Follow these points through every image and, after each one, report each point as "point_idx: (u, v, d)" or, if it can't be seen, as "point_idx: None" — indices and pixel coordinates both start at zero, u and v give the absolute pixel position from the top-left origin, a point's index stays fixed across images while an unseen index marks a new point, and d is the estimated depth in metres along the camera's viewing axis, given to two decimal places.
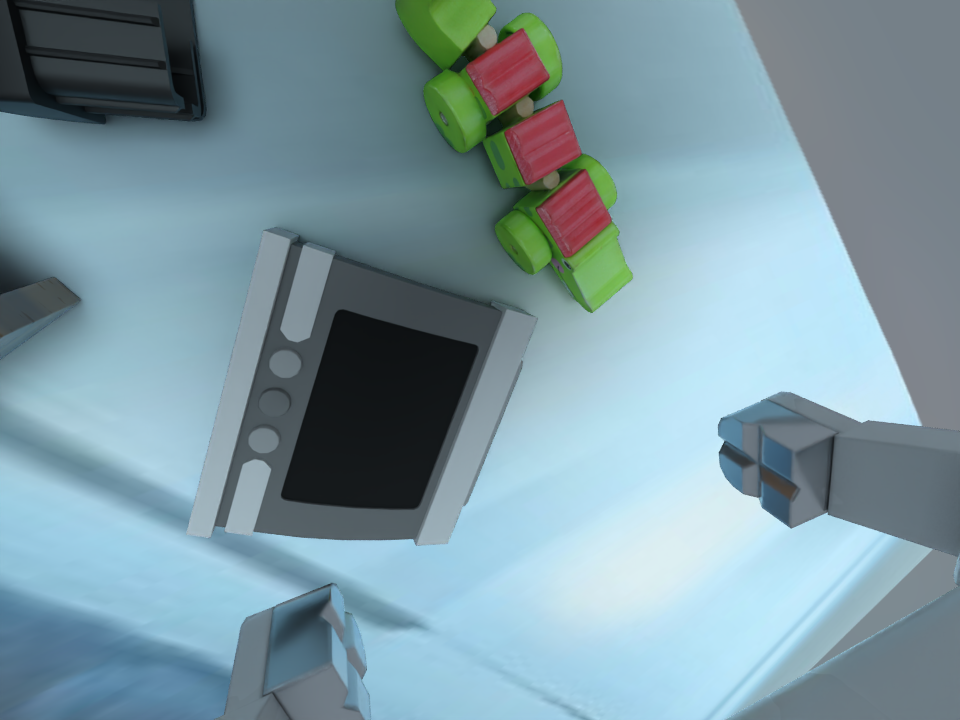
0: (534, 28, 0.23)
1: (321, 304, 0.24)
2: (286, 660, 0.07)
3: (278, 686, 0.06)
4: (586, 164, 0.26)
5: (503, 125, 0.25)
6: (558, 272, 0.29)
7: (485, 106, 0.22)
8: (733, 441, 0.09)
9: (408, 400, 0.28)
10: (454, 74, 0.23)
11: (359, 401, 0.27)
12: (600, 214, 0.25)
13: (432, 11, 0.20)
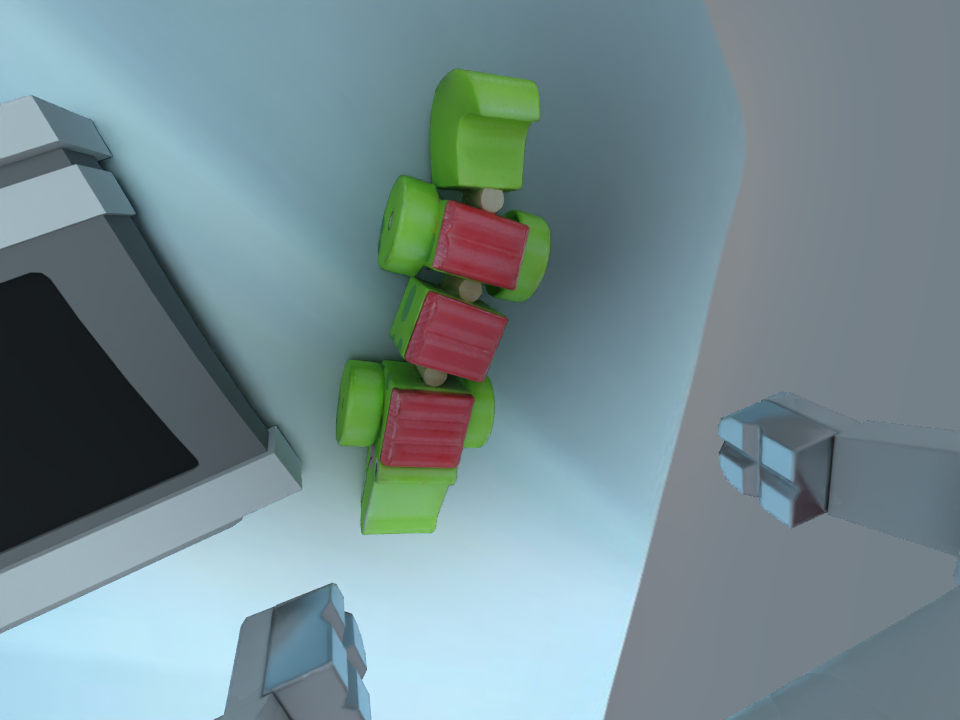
0: (539, 238, 0.19)
1: (22, 245, 0.14)
2: (286, 660, 0.07)
3: (278, 686, 0.06)
4: (481, 391, 0.21)
5: (441, 284, 0.20)
6: (367, 461, 0.22)
7: (434, 250, 0.17)
8: (733, 441, 0.09)
9: (28, 454, 0.17)
10: (435, 196, 0.18)
11: None
12: (450, 452, 0.19)
13: (462, 123, 0.16)
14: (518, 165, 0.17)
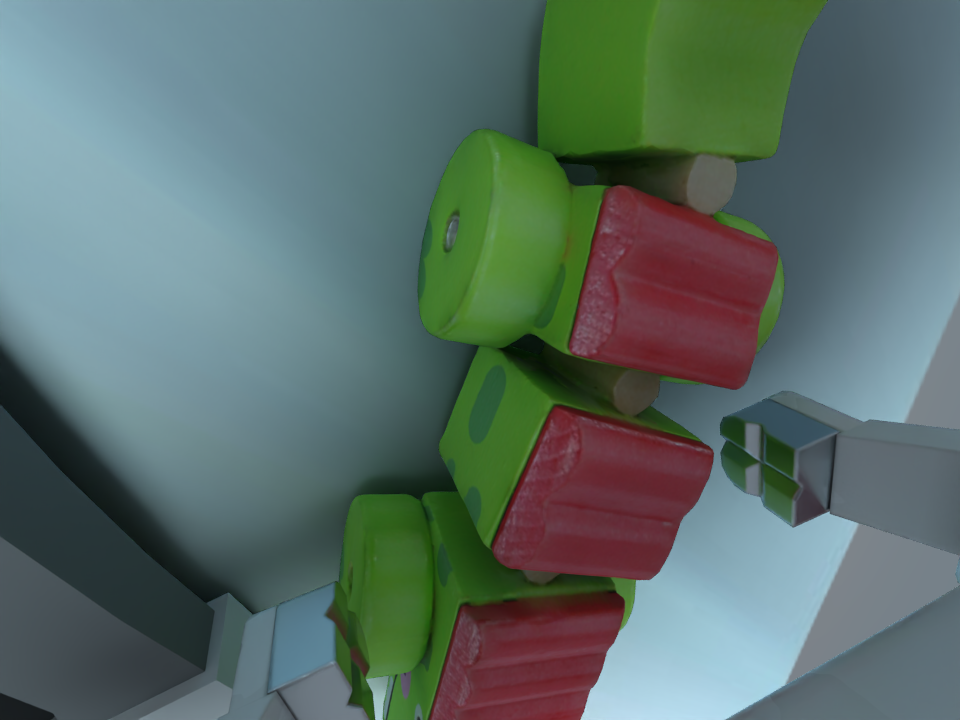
0: None
1: None
2: (290, 658, 0.07)
3: (282, 684, 0.06)
4: None
5: (545, 355, 0.10)
6: None
7: (567, 307, 0.07)
8: (735, 440, 0.09)
9: None
10: (561, 176, 0.08)
11: None
12: (571, 706, 0.09)
13: None
14: (779, 97, 0.07)
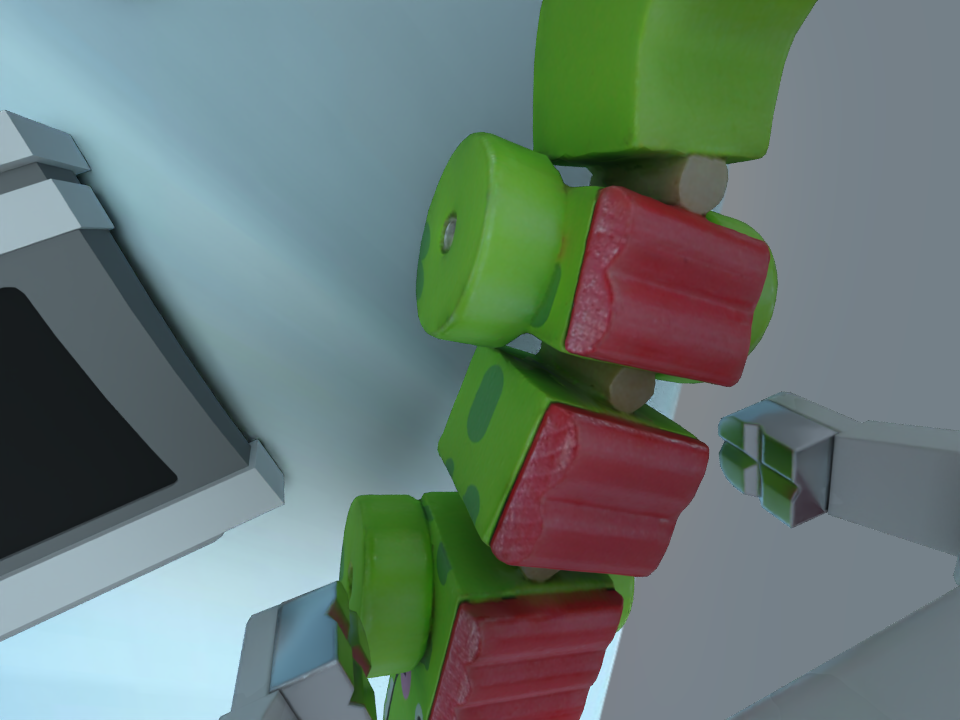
0: None
1: None
2: (292, 657, 0.07)
3: (284, 683, 0.06)
4: None
5: (542, 355, 0.10)
6: None
7: (562, 306, 0.07)
8: (733, 441, 0.09)
9: (1, 471, 0.16)
10: (556, 177, 0.08)
11: None
12: (571, 705, 0.09)
13: None
14: (768, 99, 0.07)
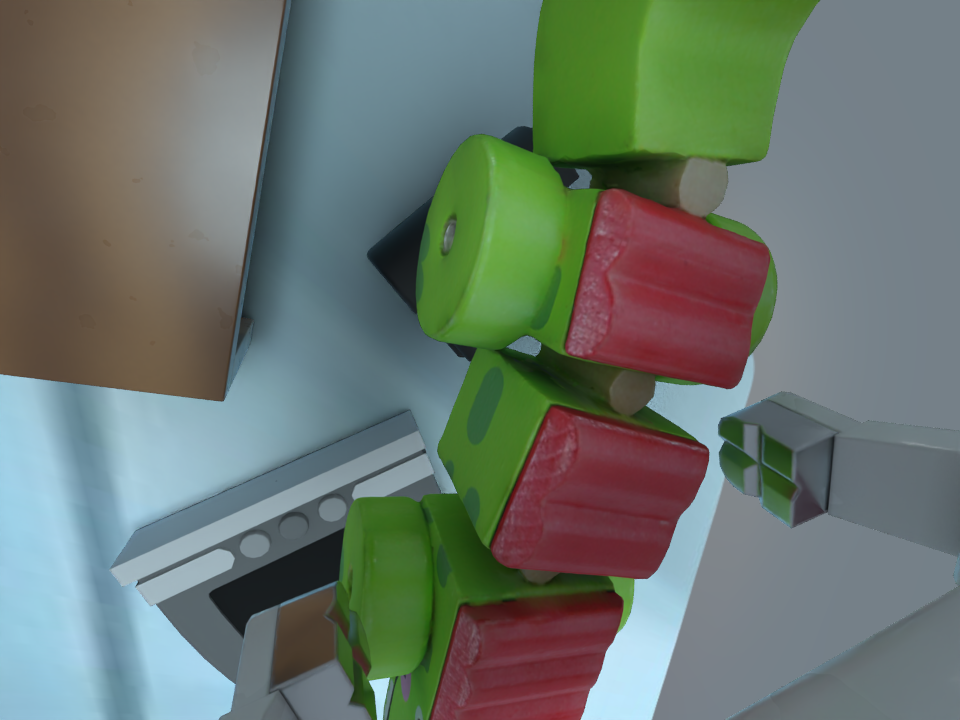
0: None
1: (395, 492, 0.28)
2: (292, 657, 0.07)
3: (284, 683, 0.06)
4: None
5: (542, 356, 0.10)
6: None
7: (563, 309, 0.07)
8: (733, 441, 0.09)
9: None
10: (556, 180, 0.08)
11: None
12: (571, 707, 0.09)
13: None
14: (768, 102, 0.07)
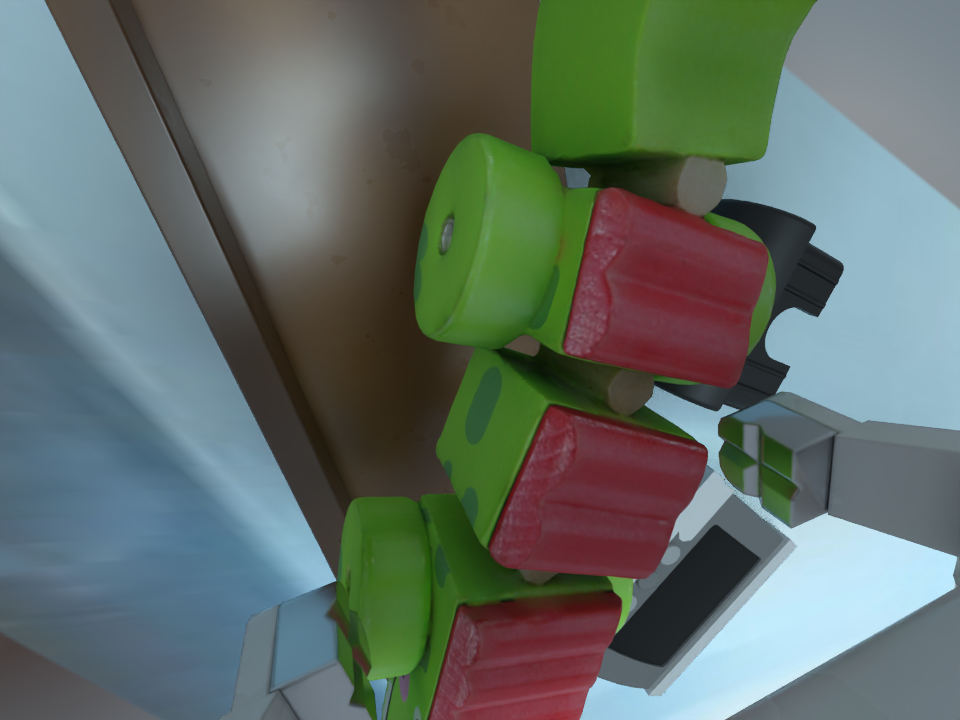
0: None
1: (708, 519, 0.32)
2: (292, 657, 0.07)
3: (284, 683, 0.06)
4: None
5: (540, 356, 0.10)
6: None
7: (561, 308, 0.07)
8: (733, 441, 0.09)
9: (709, 590, 0.36)
10: (554, 179, 0.08)
11: (686, 586, 0.34)
12: (570, 707, 0.09)
13: None
14: (767, 100, 0.07)
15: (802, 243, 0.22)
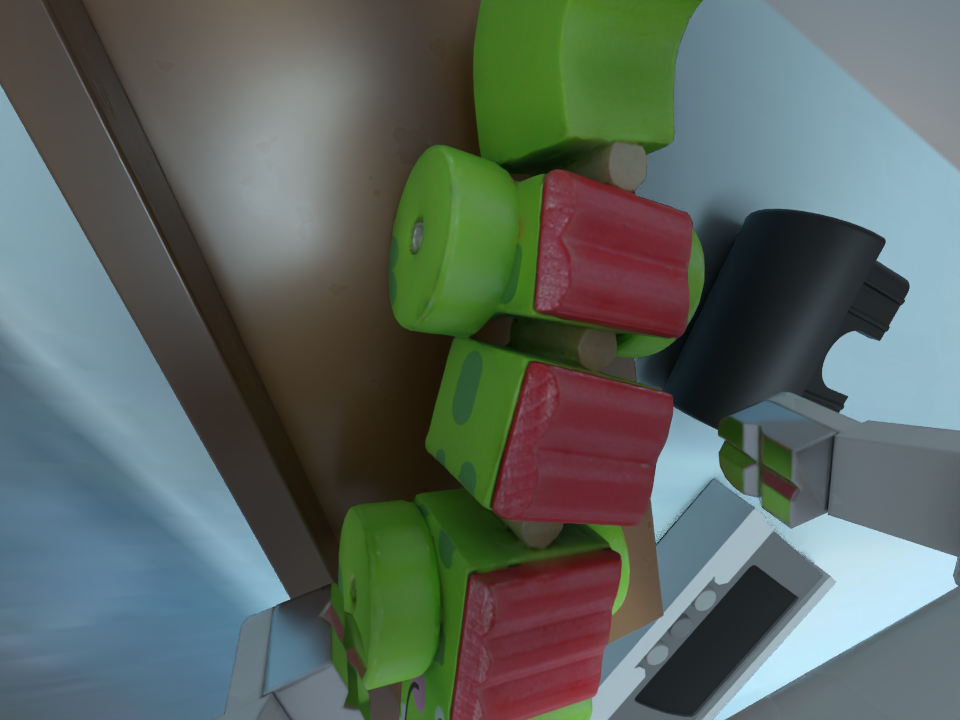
0: None
1: (746, 559, 0.29)
2: (286, 660, 0.07)
3: (278, 686, 0.06)
4: None
5: (512, 343, 0.11)
6: (407, 684, 0.12)
7: (528, 277, 0.08)
8: (733, 441, 0.09)
9: (744, 633, 0.33)
10: (506, 175, 0.09)
11: (721, 631, 0.31)
12: (588, 673, 0.10)
13: None
14: (667, 96, 0.09)
15: (870, 259, 0.19)
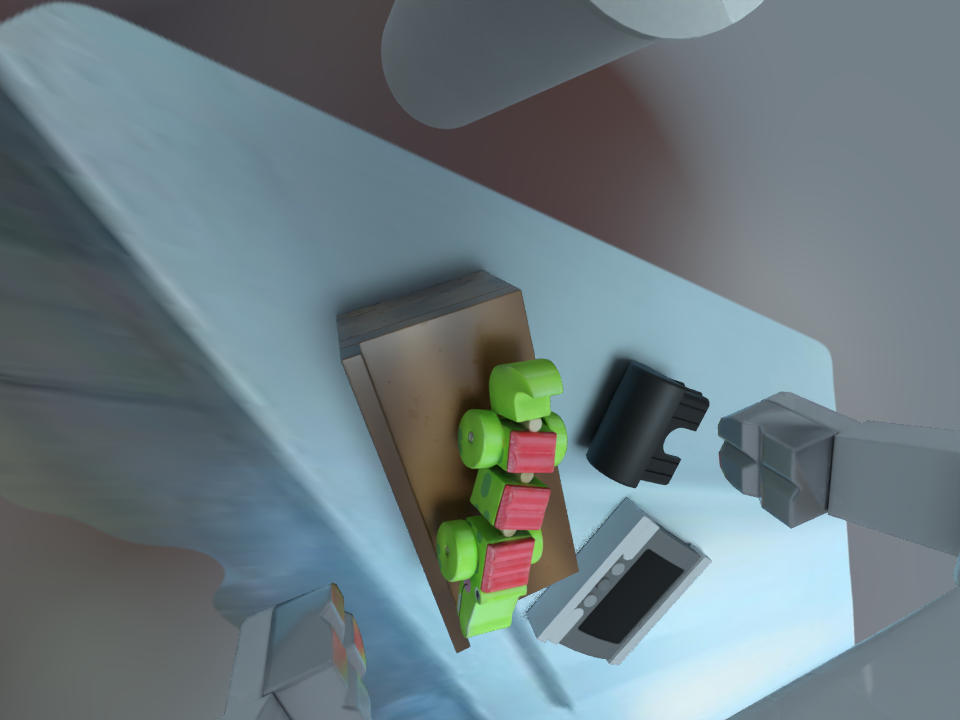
0: (560, 433, 0.31)
1: (643, 545, 0.50)
2: (286, 660, 0.07)
3: (278, 686, 0.06)
4: None
5: None
6: (461, 585, 0.32)
7: (505, 459, 0.28)
8: (733, 441, 0.09)
9: (647, 591, 0.53)
10: (499, 423, 0.29)
11: (631, 589, 0.52)
12: (524, 576, 0.30)
13: (518, 393, 0.27)
14: (547, 403, 0.29)
15: (678, 398, 0.39)
